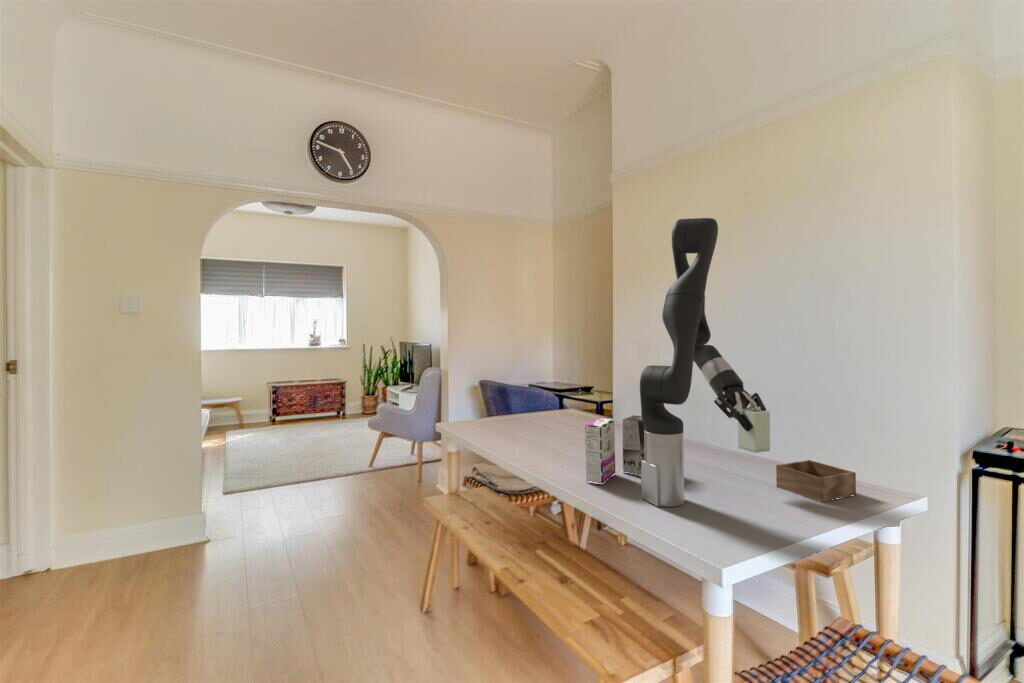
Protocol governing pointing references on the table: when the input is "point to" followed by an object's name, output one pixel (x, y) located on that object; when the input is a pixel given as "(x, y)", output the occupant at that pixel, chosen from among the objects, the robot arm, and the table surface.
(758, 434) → the green square vase
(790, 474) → the walnut crate
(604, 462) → the candy bar box
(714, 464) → the table surface
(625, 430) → the coffee box
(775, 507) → the table surface
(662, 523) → the table surface
